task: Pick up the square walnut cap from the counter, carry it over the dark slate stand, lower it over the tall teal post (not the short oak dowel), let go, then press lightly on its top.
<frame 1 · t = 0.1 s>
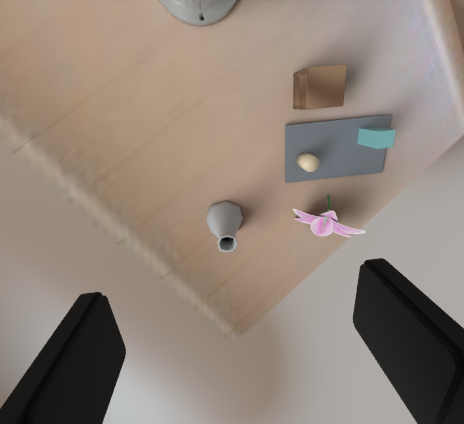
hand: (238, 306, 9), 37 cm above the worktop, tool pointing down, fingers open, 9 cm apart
lily: (314, 211, 49), on the worktop
teal post: (365, 135, 43), resting on slate stand
slate stand: (334, 149, 44), on the worktop
flask: (224, 217, 48), on the worktop
walnut cap: (309, 90, 40), on the worktop
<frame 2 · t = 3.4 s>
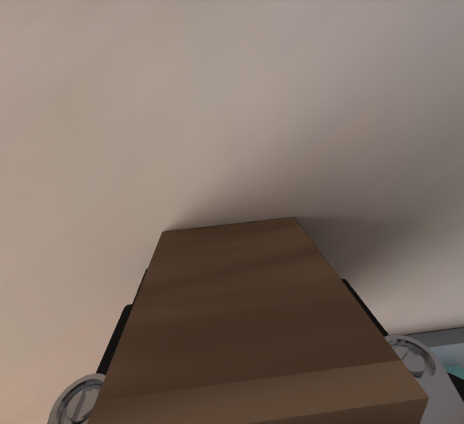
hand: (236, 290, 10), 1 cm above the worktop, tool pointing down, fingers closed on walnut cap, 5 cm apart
slate stand: (330, 402, 15), on the worktop
walnut cap: (234, 278, 11), on the worktop, touching gripper
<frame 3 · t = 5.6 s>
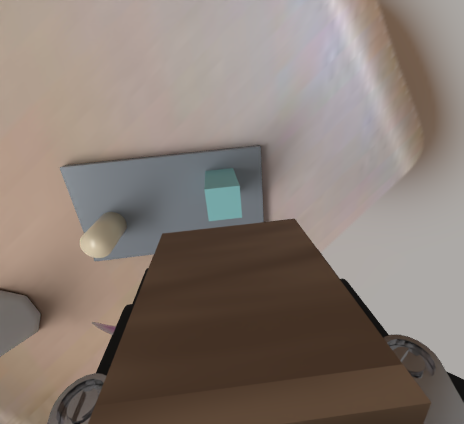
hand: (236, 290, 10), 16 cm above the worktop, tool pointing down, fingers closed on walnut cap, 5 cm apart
teal post: (220, 182, 24), resting on slate stand
slate stand: (173, 204, 25), on the worktop
flask: (9, 311, 29), on the worktop
walnut cap: (234, 279, 11), point 15 cm above the worktop, touching gripper
when the fingers open (3 cm above the worktop, at t = 8.0 s): walnut cap drops 1 cm, resting on slate stand.
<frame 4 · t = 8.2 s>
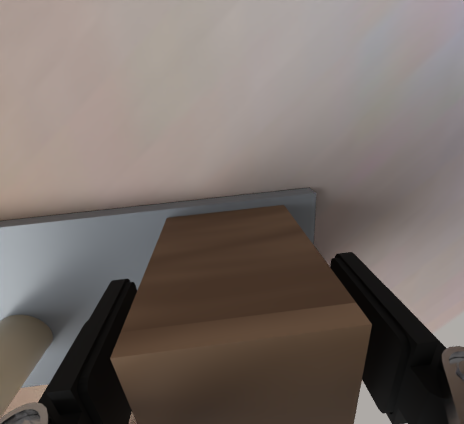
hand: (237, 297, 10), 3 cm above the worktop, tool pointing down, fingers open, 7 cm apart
slate stand: (142, 293, 13), on the worktop
walnut cap: (231, 260, 12), point 1 cm above the worktop, touching slate stand
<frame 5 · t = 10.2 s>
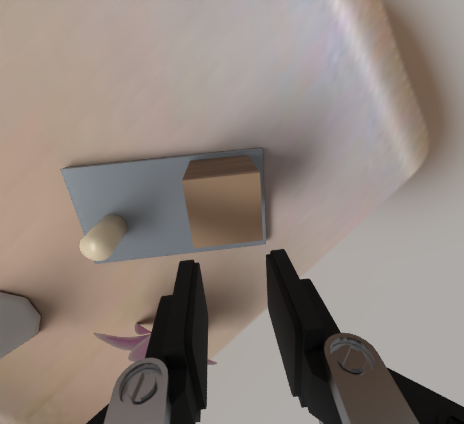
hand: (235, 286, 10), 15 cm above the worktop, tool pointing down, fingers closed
lily: (169, 311, 30), on the worktop
slate stand: (174, 207, 25), on the worktop
flask: (10, 313, 29), on the worktop
walnut cap: (221, 185, 23), point 1 cm above the worktop, touching slate stand
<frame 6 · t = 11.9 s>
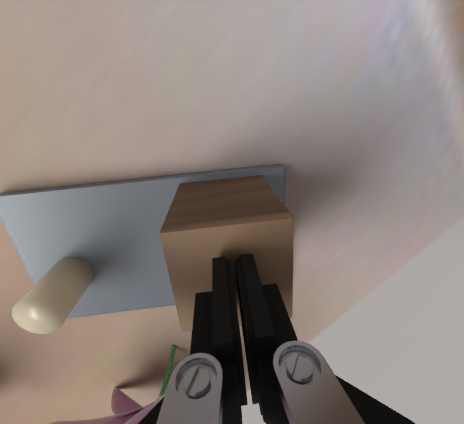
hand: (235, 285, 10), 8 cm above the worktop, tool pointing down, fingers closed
lily: (157, 372, 24), on the worktop
slate stand: (159, 244, 18), on the worktop
walnut cap: (224, 216, 17), point 1 cm above the worktop, touching slate stand
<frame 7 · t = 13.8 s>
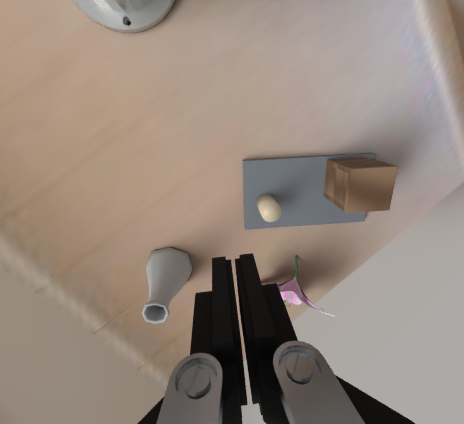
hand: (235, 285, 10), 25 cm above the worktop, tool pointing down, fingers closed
lily: (281, 274, 41), on the worktop
slate stand: (305, 191, 36), on the worktop
flask: (170, 265, 39), on the worktop
walnut cap: (343, 177, 34), point 1 cm above the worktop, touching slate stand
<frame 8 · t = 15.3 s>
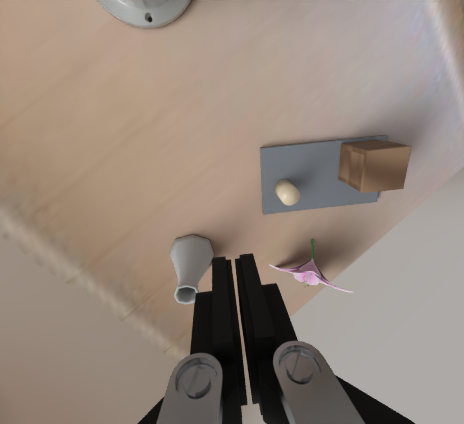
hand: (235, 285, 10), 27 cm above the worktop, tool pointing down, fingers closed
lily: (298, 257, 43), on the worktop
slate stand: (320, 175, 37), on the worktop
flask: (192, 252, 41), on the worktop
walnut cap: (356, 159, 36), point 1 cm above the worktop, touching slate stand
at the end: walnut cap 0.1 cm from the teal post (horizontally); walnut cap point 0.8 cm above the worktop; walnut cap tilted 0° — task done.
